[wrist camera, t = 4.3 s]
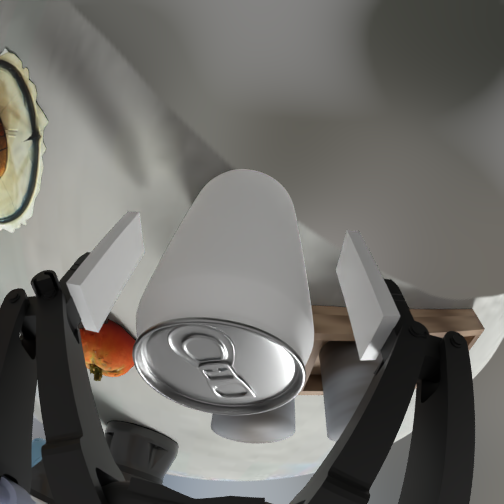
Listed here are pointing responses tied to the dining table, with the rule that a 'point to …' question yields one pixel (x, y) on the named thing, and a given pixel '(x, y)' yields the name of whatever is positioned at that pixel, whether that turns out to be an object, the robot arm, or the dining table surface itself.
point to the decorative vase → (19, 143)
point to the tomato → (107, 350)
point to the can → (229, 302)
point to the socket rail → (343, 332)
